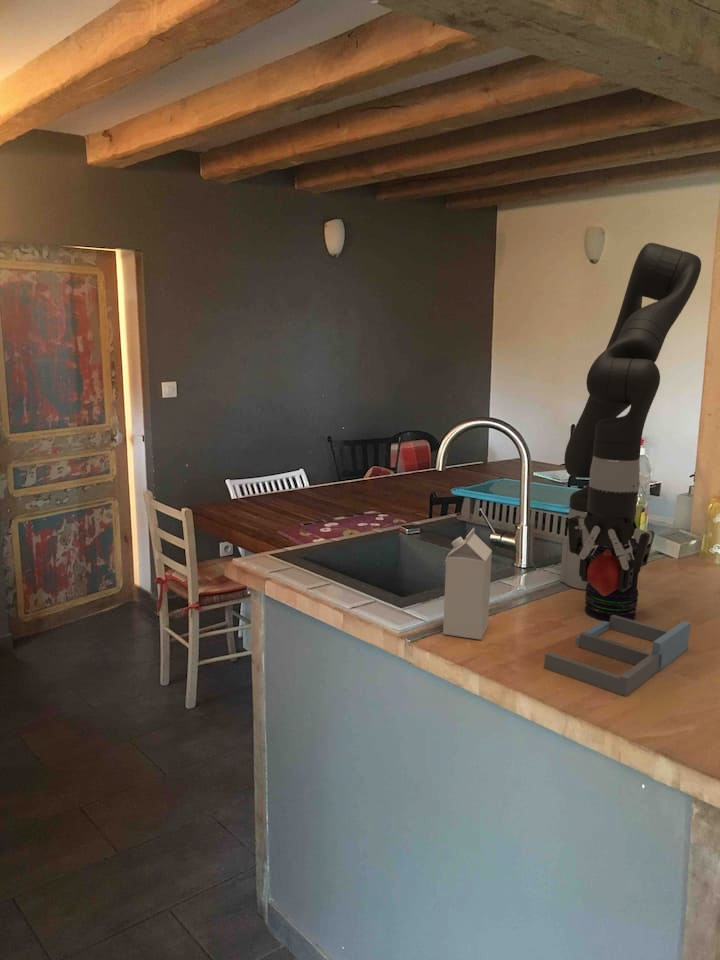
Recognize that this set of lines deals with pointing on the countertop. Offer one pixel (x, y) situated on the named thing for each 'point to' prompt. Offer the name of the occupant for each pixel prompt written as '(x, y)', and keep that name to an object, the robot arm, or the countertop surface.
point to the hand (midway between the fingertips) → (604, 584)
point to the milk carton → (467, 588)
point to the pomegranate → (604, 573)
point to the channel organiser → (623, 654)
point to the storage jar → (613, 594)
